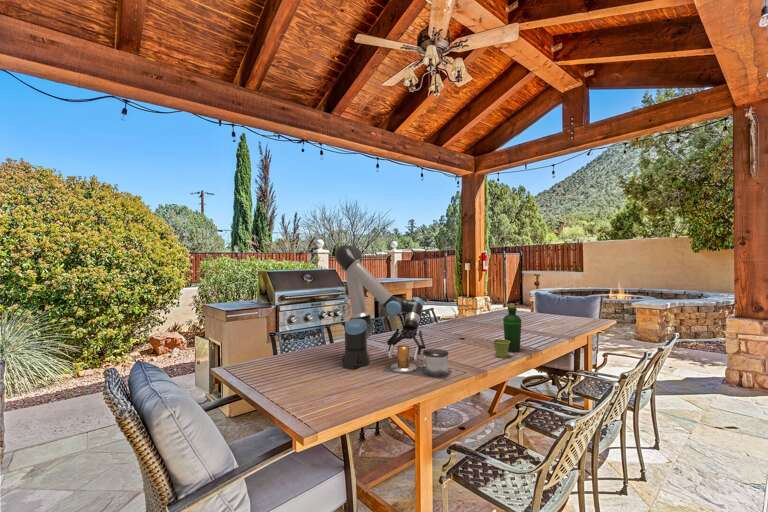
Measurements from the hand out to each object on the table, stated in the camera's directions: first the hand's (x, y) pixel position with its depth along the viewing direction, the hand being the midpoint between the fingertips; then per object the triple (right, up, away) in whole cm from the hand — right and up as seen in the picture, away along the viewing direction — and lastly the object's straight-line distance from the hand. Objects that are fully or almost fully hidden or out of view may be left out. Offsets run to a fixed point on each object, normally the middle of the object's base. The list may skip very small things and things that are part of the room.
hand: (402, 358), depth 172 cm
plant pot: (+58, -7, +26) cm, 64 cm away
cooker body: (+16, -6, -5) cm, 17 cm away
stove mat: (+7, -7, -1) cm, 10 cm away
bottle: (+69, -7, +38) cm, 79 cm away
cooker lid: (+1, -6, +2) cm, 6 cm away
